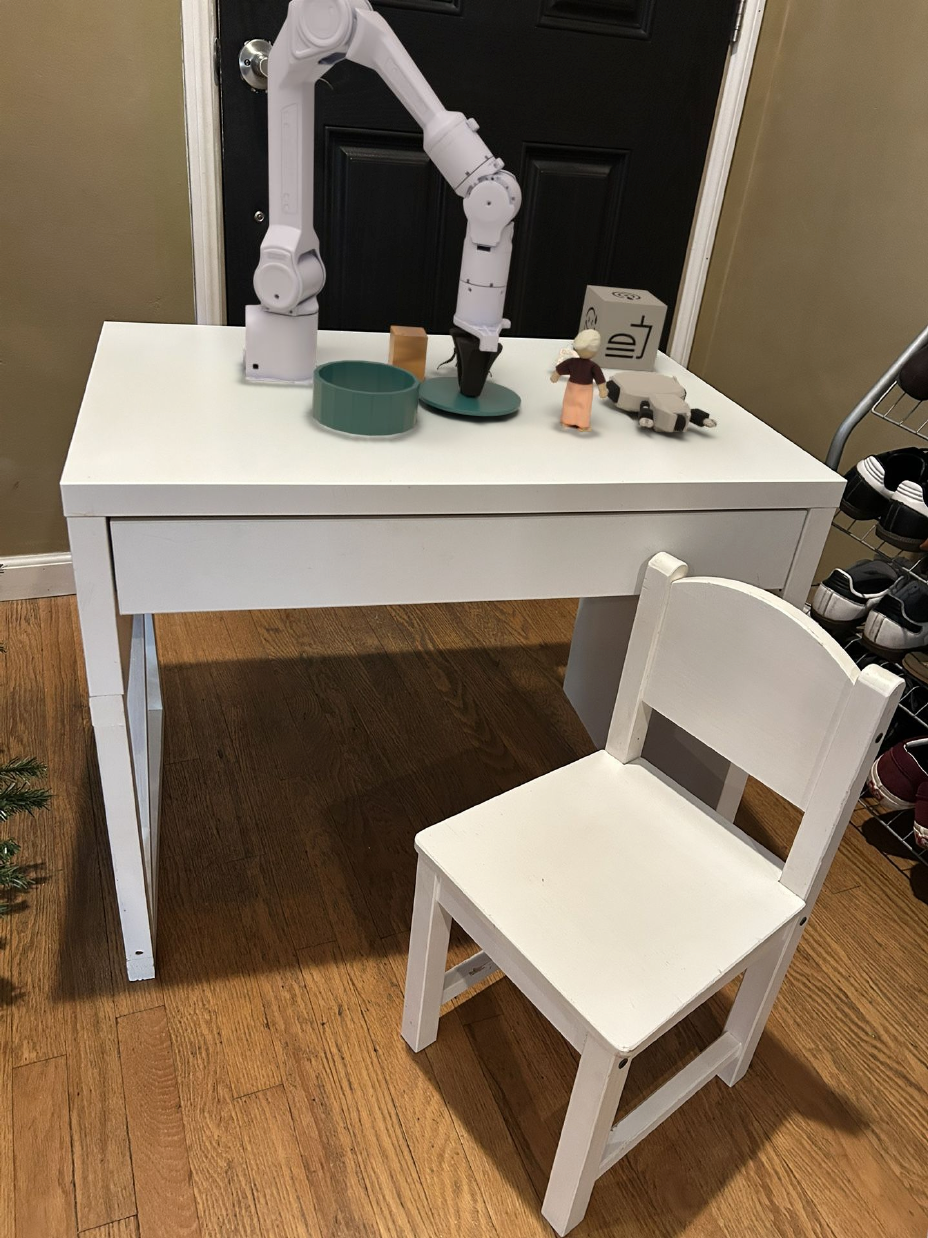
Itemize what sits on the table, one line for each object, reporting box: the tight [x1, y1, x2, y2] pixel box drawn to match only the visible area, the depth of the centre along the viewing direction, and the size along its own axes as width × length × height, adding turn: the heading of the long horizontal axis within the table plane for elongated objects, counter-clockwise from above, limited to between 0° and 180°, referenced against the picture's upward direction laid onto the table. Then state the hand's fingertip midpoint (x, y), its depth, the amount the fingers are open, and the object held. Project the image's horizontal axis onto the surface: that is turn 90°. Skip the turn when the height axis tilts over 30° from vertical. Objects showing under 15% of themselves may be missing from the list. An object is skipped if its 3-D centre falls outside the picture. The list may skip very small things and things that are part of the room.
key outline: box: [555, 348, 596, 383], centre depth 142 cm, size 13×5×2 cm, turn 11°
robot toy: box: [606, 370, 718, 433], centre depth 126 cm, size 12×4×15 cm
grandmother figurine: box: [549, 329, 608, 432], centre depth 117 cm, size 8×4×13 cm, turn 71°
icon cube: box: [578, 284, 668, 372], centre depth 149 cm, size 10×10×10 cm
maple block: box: [387, 325, 429, 382], centre depth 127 cm, size 4×4×7 cm
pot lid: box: [419, 376, 522, 417], centre depth 120 cm, size 14×14×5 cm
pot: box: [311, 359, 420, 437], centre depth 113 cm, size 12×13×6 cm
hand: (469, 391), depth 121 cm, fingers closed on pot lid, 2 cm apart
